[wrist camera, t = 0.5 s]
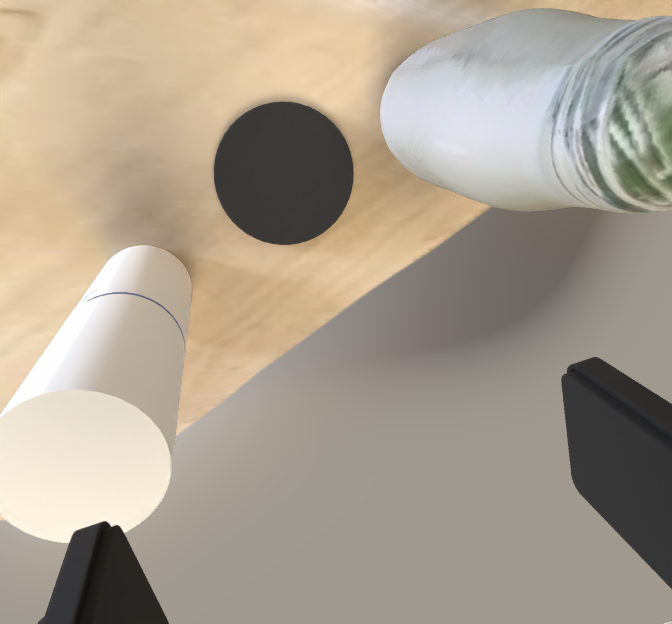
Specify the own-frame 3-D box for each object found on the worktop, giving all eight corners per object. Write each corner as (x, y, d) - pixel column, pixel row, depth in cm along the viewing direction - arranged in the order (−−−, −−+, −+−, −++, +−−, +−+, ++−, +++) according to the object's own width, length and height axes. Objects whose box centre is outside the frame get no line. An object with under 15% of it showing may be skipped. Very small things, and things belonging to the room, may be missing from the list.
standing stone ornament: (344, 140, 45) (523, 178, 19) (411, 18, 43) (712, -124, 17) (441, 200, 48) (707, 302, 22) (507, 89, 46) (883, 61, 20)
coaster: (192, 127, 42) (192, 127, 42) (329, 83, 43) (331, 82, 43) (242, 261, 46) (243, 263, 46) (367, 218, 47) (369, 219, 47)
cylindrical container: (203, 316, 47) (194, 511, 24) (118, 340, 46) (25, 565, 23) (175, 235, 45) (136, 366, 22) (85, 258, 44) (-57, 422, 21)
